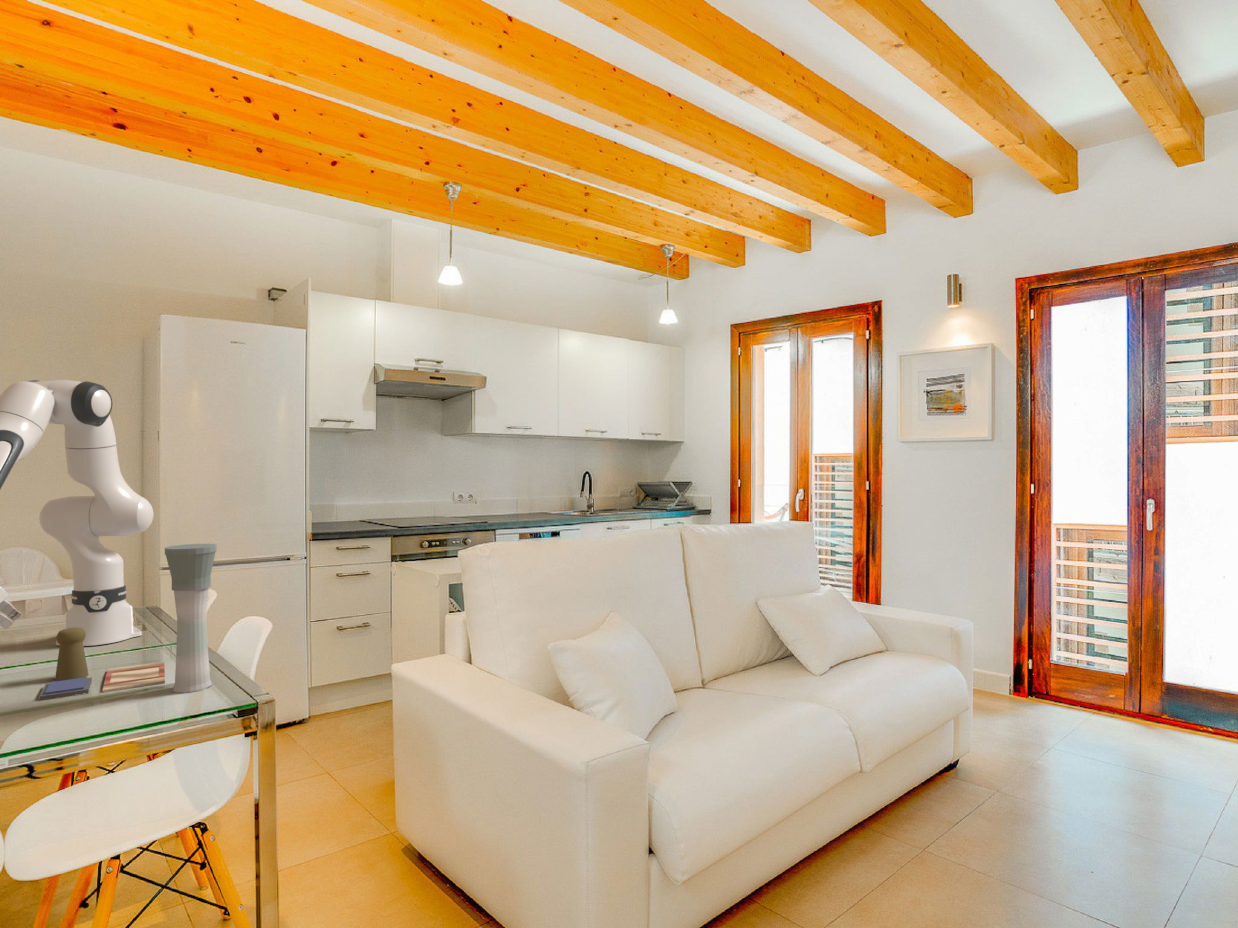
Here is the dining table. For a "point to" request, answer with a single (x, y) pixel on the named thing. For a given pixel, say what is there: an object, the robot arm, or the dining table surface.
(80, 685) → the ink pad
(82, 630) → the brown tapered round-topped piece
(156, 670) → the marked board
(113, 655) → the dining table surface
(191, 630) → the container
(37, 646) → the dining table surface
